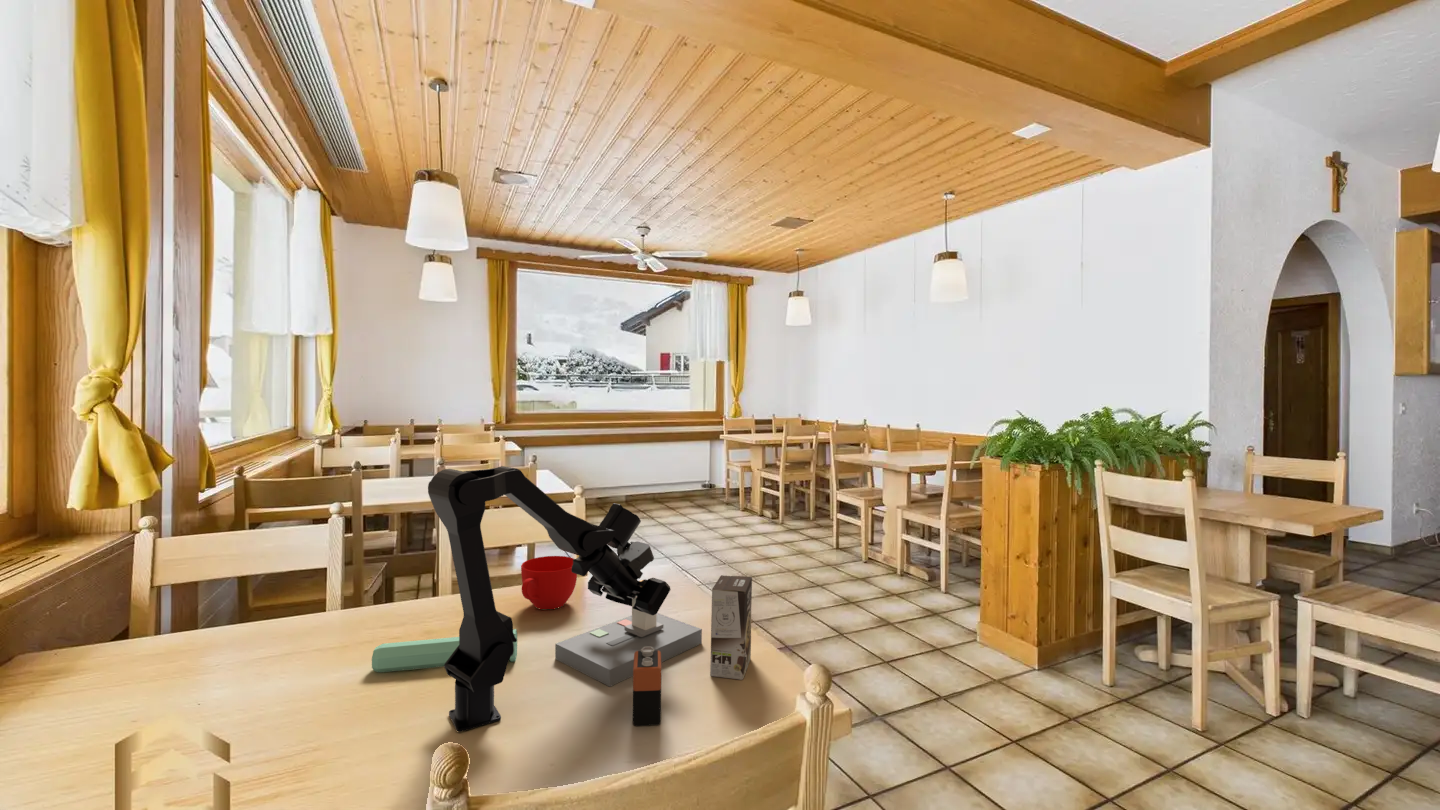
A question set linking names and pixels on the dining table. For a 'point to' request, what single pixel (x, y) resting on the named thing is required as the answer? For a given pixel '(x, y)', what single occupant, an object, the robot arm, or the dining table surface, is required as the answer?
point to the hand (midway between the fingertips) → (649, 609)
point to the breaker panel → (623, 647)
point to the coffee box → (731, 627)
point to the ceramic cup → (548, 581)
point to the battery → (647, 687)
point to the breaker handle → (642, 622)
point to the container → (418, 654)
